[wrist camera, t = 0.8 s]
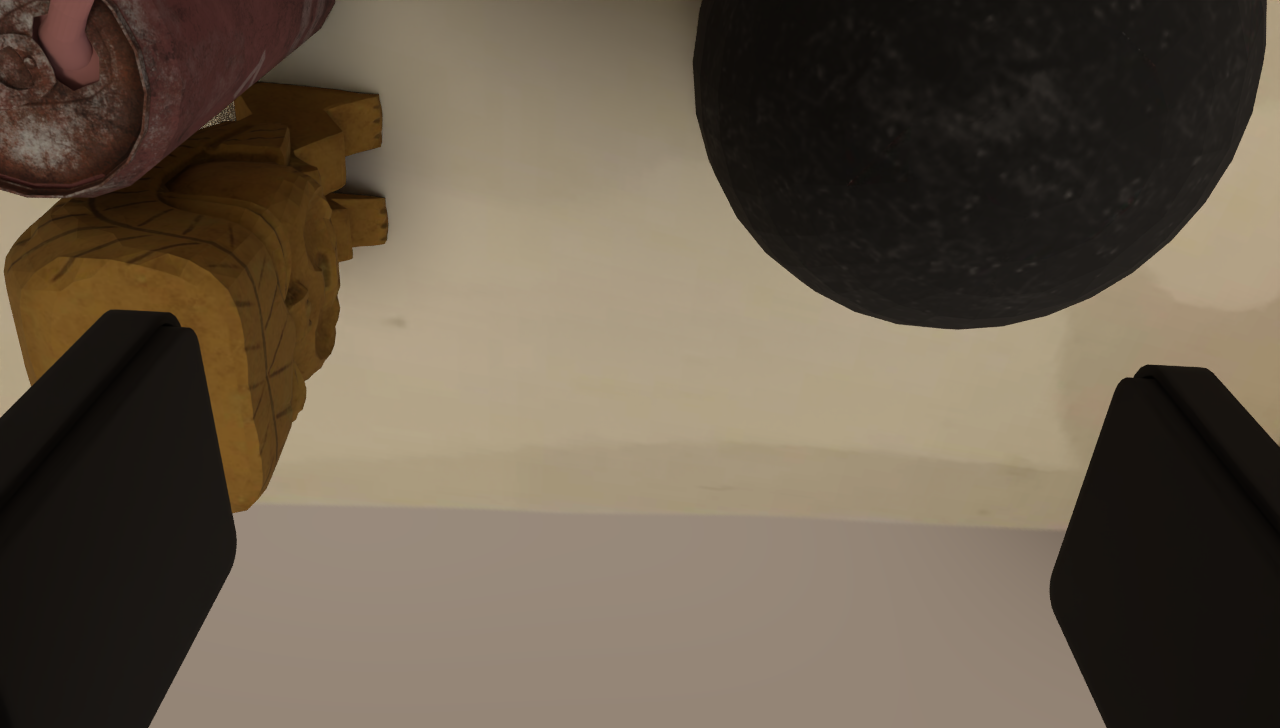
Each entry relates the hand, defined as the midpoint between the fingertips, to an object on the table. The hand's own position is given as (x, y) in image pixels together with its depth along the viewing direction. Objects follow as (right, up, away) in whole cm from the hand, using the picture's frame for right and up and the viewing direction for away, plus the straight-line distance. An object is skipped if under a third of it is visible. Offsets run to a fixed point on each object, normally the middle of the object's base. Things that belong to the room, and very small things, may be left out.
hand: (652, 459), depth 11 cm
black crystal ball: (+8, +13, +22) cm, 27 cm away
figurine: (-12, +8, +25) cm, 29 cm away
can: (-12, +14, +22) cm, 29 cm away
